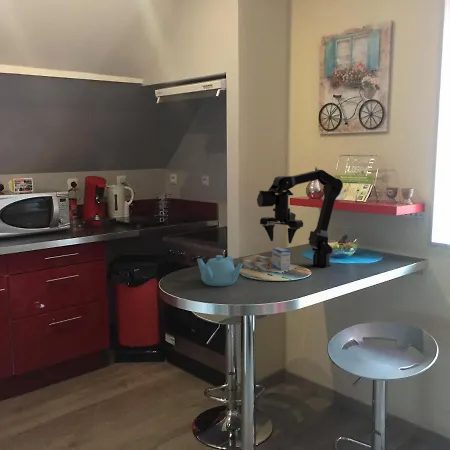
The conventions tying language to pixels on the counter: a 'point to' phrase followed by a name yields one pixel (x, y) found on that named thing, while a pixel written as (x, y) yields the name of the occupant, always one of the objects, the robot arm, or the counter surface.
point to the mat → (279, 270)
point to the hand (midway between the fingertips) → (280, 242)
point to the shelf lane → (256, 262)
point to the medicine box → (281, 259)
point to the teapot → (219, 271)
